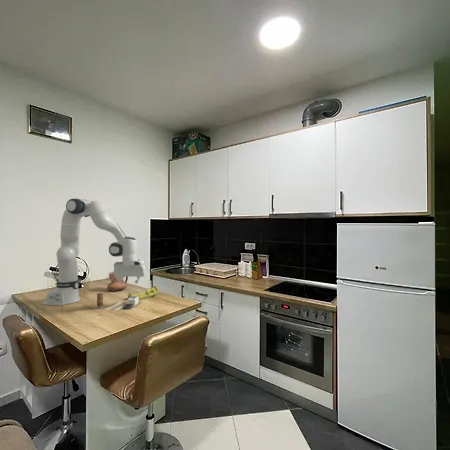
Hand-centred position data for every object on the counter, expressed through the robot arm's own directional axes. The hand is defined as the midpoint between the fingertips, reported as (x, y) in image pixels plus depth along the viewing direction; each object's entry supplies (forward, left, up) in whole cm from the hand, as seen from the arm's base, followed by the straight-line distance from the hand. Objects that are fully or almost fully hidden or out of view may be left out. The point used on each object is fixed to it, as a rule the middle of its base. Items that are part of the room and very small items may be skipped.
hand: (129, 283), depth 160 cm
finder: (+2, 0, -13) cm, 13 cm away
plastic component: (+4, +15, -15) cm, 22 cm away
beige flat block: (-2, -4, -14) cm, 15 cm away
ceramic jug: (-26, +39, -15) cm, 49 cm away
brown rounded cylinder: (-15, -9, -14) cm, 22 cm away
